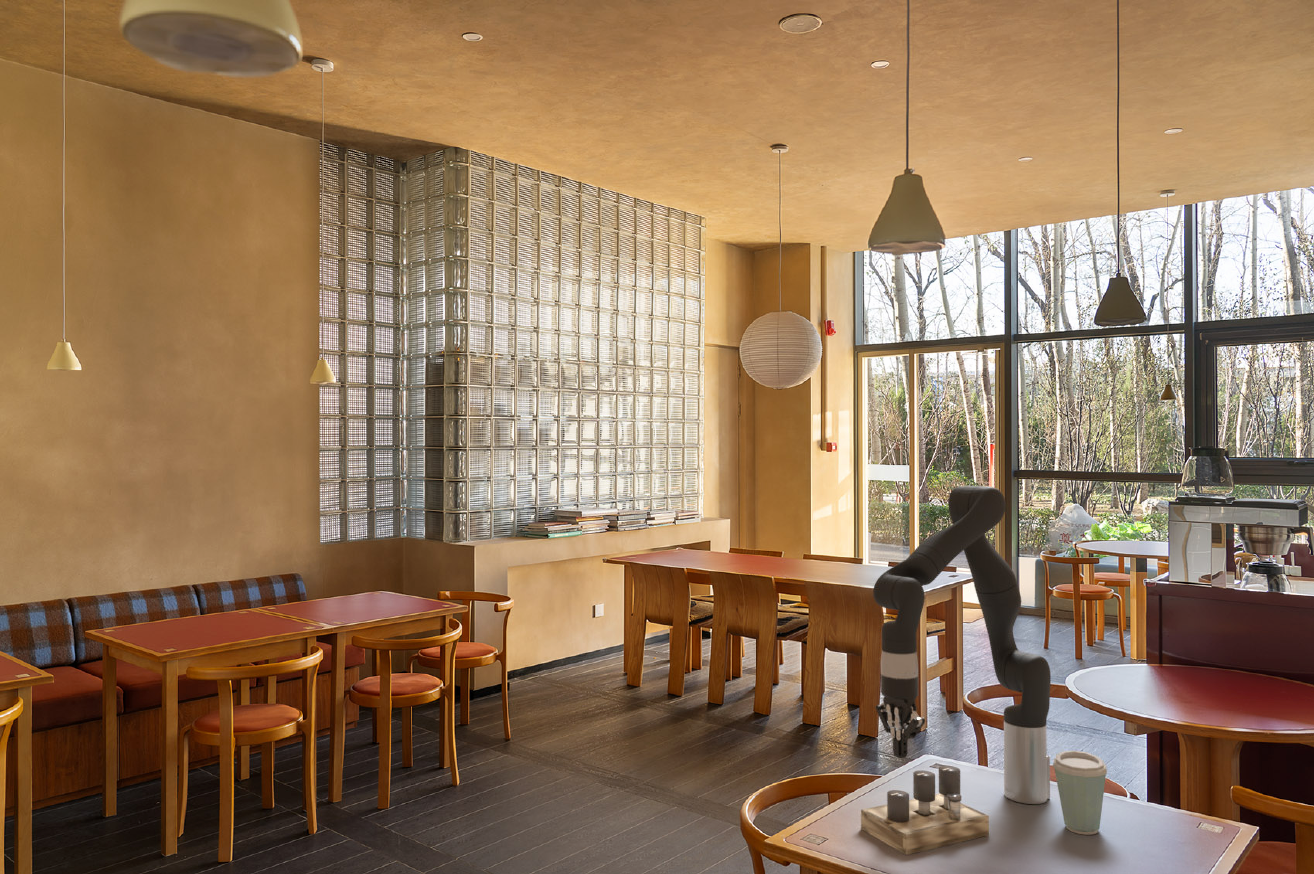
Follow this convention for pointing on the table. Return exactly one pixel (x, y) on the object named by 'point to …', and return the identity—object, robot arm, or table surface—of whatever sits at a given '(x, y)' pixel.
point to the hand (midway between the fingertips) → (900, 756)
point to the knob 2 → (949, 781)
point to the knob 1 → (898, 806)
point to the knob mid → (924, 790)
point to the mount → (925, 826)
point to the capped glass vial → (954, 806)
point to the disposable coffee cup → (1080, 790)
